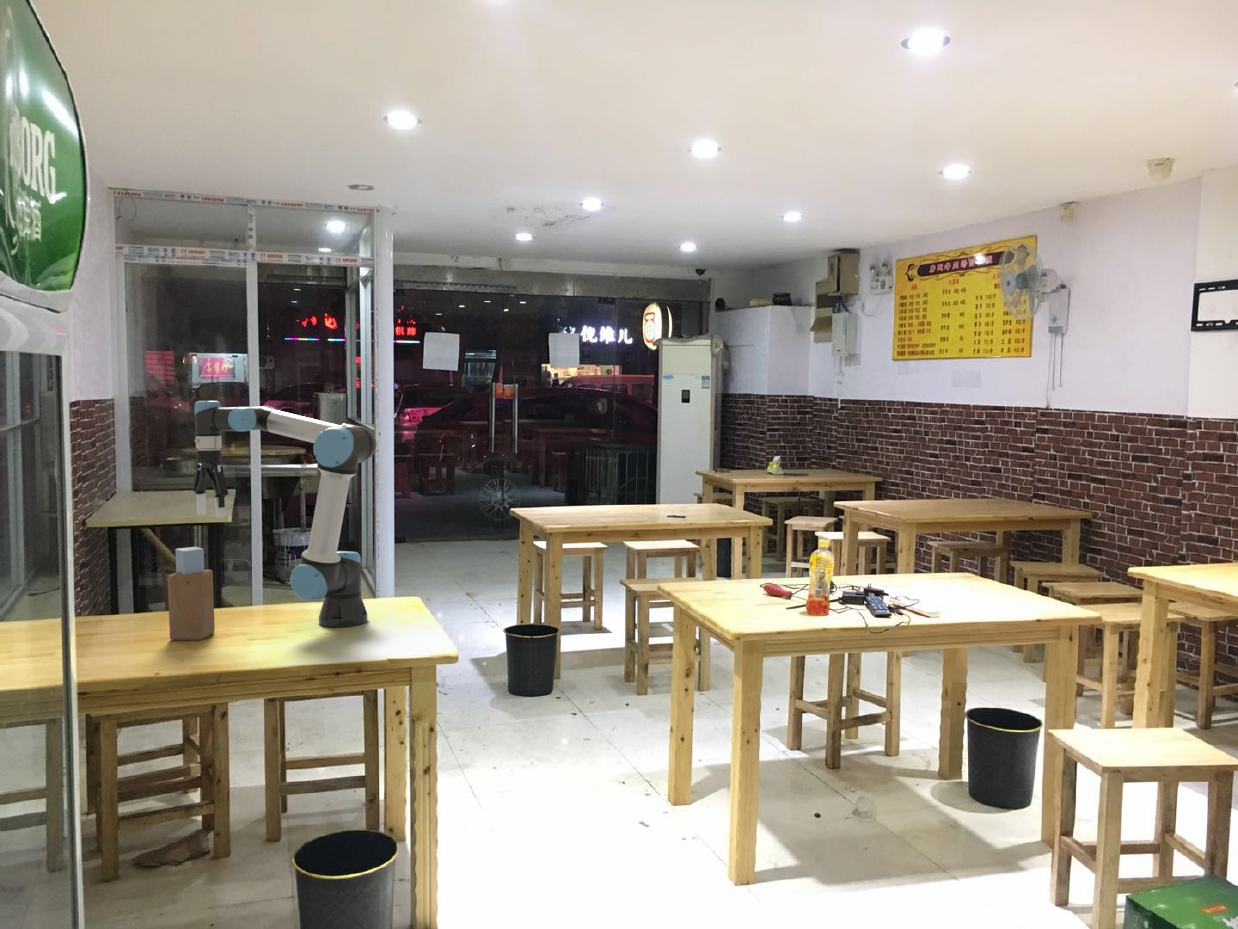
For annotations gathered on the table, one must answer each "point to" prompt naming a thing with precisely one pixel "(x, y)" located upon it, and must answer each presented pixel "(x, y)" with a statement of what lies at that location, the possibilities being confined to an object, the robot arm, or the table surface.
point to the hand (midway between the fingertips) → (211, 516)
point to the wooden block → (191, 605)
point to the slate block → (189, 560)
